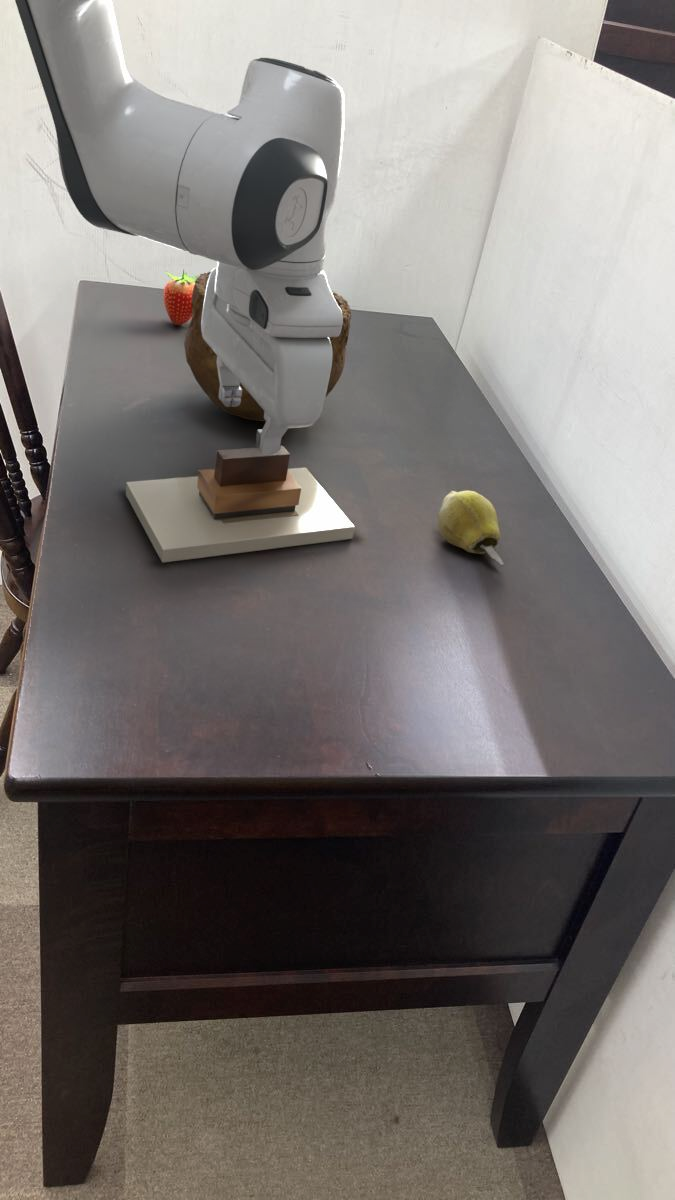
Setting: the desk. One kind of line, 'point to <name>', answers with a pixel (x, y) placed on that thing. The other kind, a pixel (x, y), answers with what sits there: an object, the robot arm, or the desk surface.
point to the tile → (231, 520)
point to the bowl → (208, 379)
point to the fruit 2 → (470, 523)
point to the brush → (248, 484)
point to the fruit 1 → (179, 298)
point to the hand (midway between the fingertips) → (247, 426)
